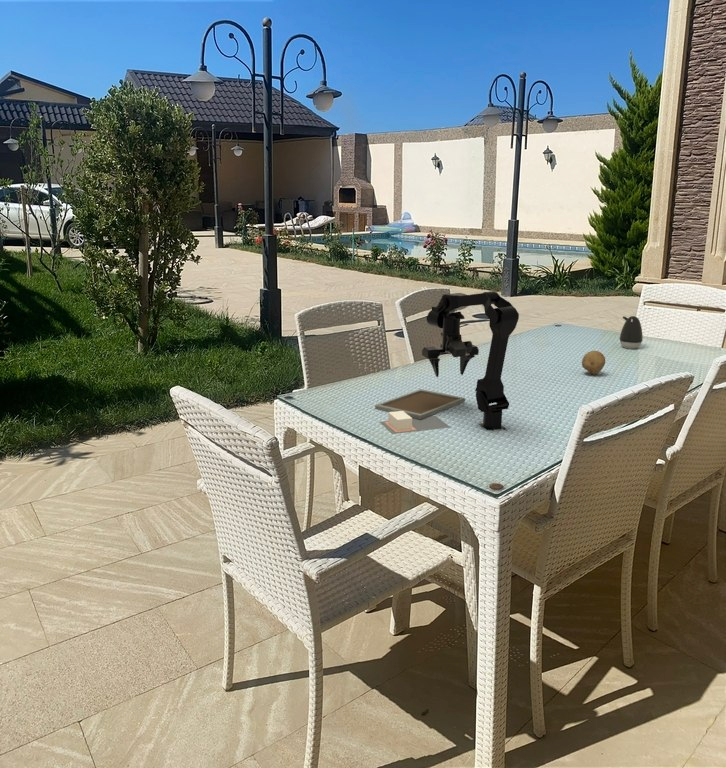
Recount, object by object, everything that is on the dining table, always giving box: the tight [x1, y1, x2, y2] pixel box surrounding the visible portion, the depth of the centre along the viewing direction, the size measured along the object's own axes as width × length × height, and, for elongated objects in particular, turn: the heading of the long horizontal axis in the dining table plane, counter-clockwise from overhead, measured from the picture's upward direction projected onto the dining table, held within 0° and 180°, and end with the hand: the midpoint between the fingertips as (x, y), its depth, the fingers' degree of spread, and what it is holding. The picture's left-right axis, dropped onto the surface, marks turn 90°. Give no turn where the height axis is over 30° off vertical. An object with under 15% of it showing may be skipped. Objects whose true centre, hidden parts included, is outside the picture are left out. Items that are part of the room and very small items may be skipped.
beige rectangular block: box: [387, 411, 412, 430], centre depth 231 cm, size 5×8×4 cm, turn 18°
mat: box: [379, 415, 452, 435], centre depth 233 cm, size 12×20×1 cm, turn 109°
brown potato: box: [581, 350, 606, 375], centre depth 295 cm, size 9×9×10 cm
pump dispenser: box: [619, 315, 644, 350], centre depth 342 cm, size 10×10×15 cm
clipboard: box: [374, 388, 466, 420], centre depth 252 cm, size 19×2×30 cm
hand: (449, 375), depth 248 cm, fingers open, 9 cm apart
